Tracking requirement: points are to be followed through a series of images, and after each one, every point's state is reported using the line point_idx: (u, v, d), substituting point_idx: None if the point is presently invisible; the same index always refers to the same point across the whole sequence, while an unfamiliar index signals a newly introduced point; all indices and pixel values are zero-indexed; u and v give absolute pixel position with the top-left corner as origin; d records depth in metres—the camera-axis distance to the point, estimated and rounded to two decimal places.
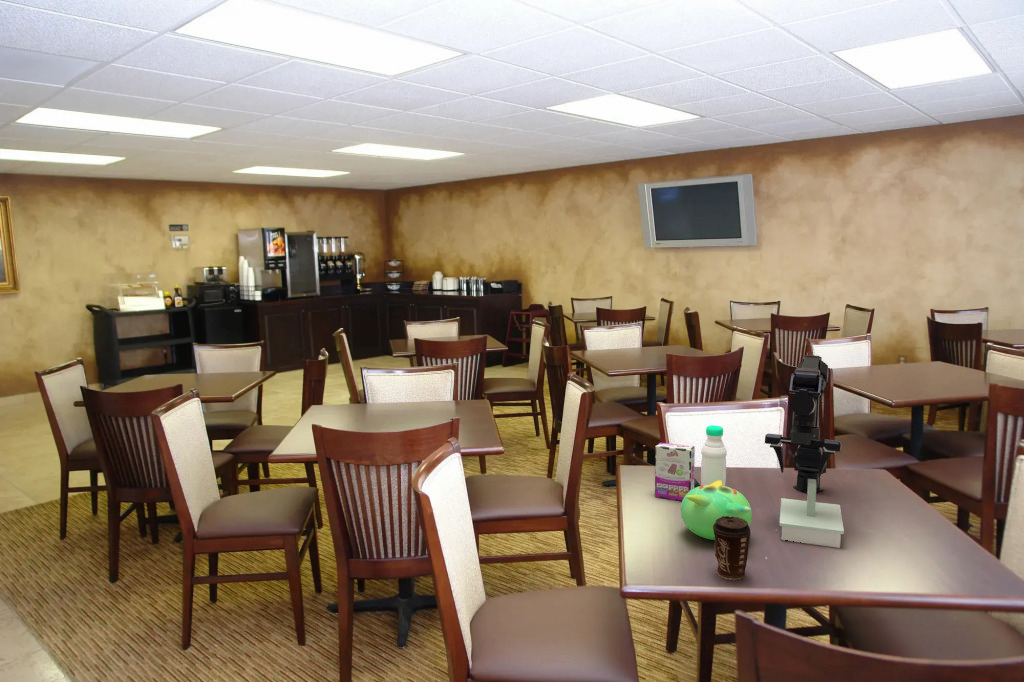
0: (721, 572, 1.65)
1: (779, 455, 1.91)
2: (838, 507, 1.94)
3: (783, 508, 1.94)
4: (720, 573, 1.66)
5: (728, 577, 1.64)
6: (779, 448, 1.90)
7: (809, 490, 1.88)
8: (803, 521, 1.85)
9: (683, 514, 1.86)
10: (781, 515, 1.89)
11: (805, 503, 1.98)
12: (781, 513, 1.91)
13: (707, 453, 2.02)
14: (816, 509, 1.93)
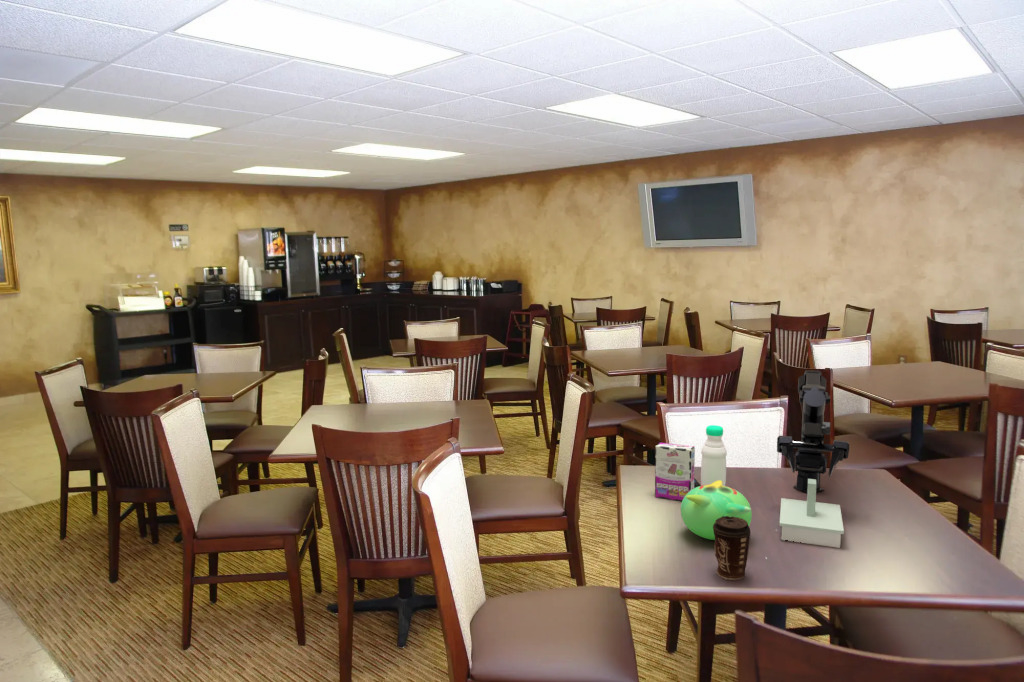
0: (721, 572, 1.65)
1: (791, 455, 2.00)
2: (838, 507, 1.94)
3: (783, 508, 1.94)
4: (720, 573, 1.66)
5: (728, 577, 1.64)
6: (791, 447, 2.00)
7: (809, 490, 1.88)
8: (803, 521, 1.85)
9: (683, 514, 1.86)
10: (781, 515, 1.89)
11: (805, 503, 1.98)
12: (781, 513, 1.91)
13: (707, 453, 2.02)
14: (816, 509, 1.93)
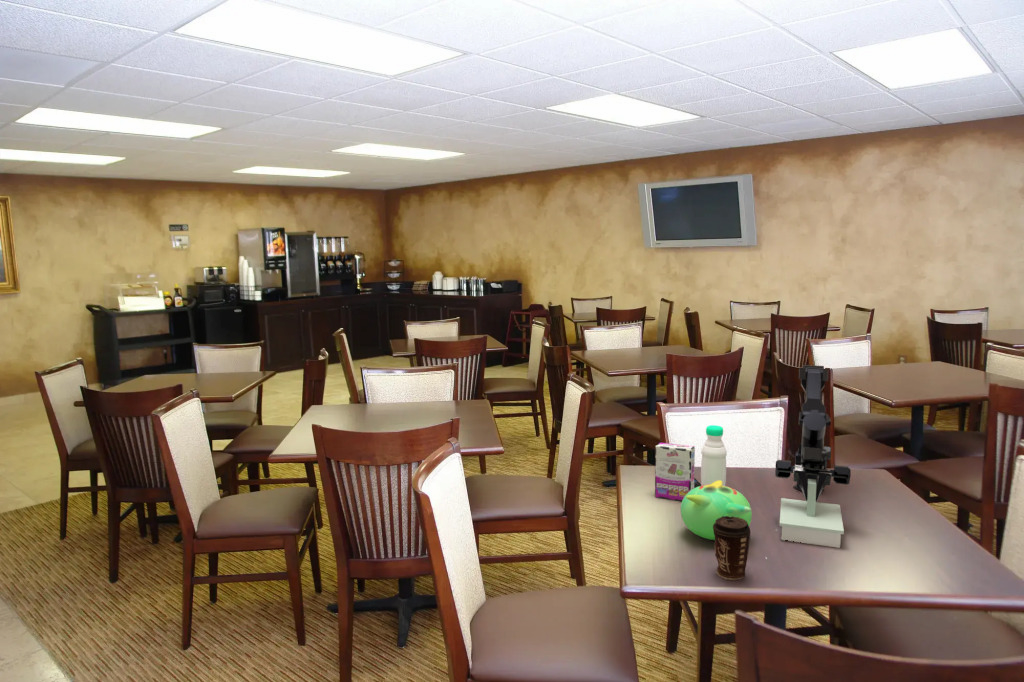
0: (721, 572, 1.65)
1: (804, 481, 1.91)
2: (838, 507, 1.94)
3: (783, 508, 1.94)
4: (720, 573, 1.66)
5: (728, 577, 1.64)
6: (804, 473, 1.91)
7: (809, 490, 1.88)
8: (803, 521, 1.85)
9: (683, 514, 1.86)
10: (781, 515, 1.89)
11: (805, 503, 1.98)
12: (781, 513, 1.91)
13: (707, 453, 2.02)
14: (816, 509, 1.93)
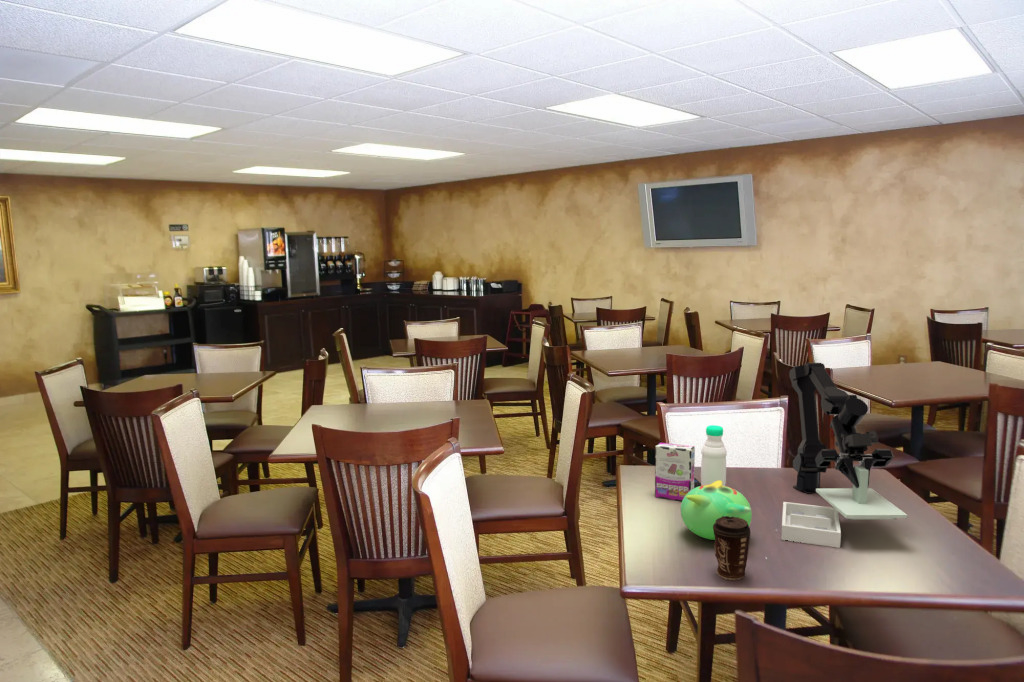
0: (721, 572, 1.65)
1: (851, 469, 1.87)
2: (873, 491, 1.94)
3: (831, 499, 1.89)
4: (720, 573, 1.66)
5: (728, 577, 1.64)
6: (851, 460, 1.87)
7: (861, 477, 1.84)
8: (863, 510, 1.81)
9: (683, 514, 1.86)
10: (838, 506, 1.83)
11: (842, 491, 1.95)
12: (835, 504, 1.85)
13: (707, 453, 2.02)
14: None
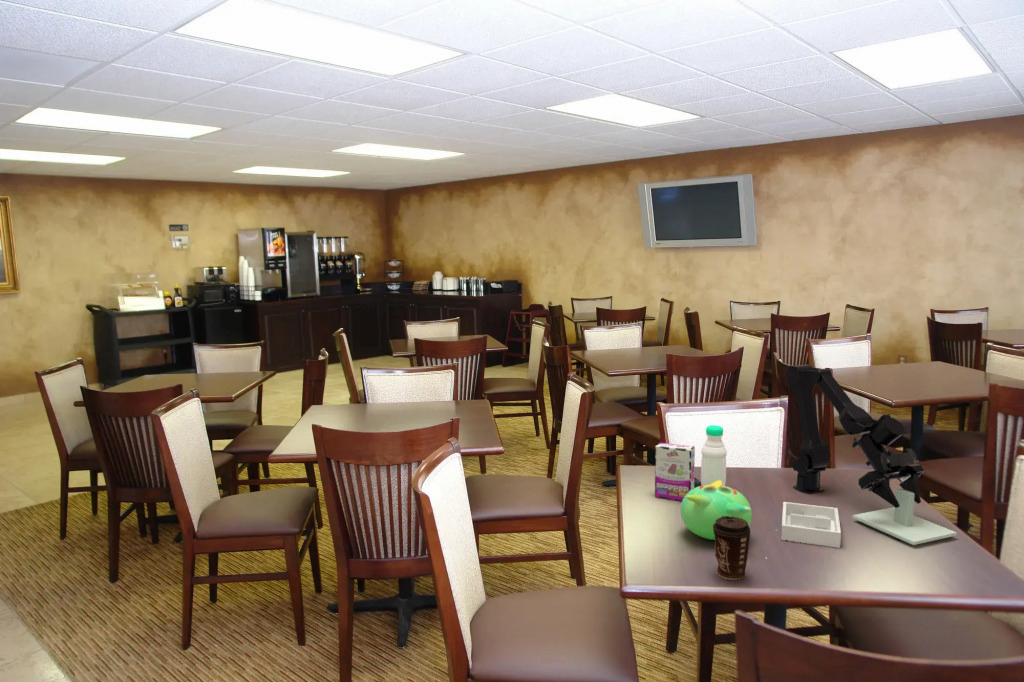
0: (721, 572, 1.65)
1: (889, 489, 1.88)
2: None
3: (879, 525, 1.89)
4: (720, 573, 1.66)
5: (728, 577, 1.64)
6: (888, 481, 1.88)
7: (909, 501, 1.87)
8: (920, 534, 1.84)
9: (683, 514, 1.86)
10: (895, 533, 1.84)
11: (876, 514, 1.97)
12: (890, 531, 1.86)
13: (707, 453, 2.02)
14: None
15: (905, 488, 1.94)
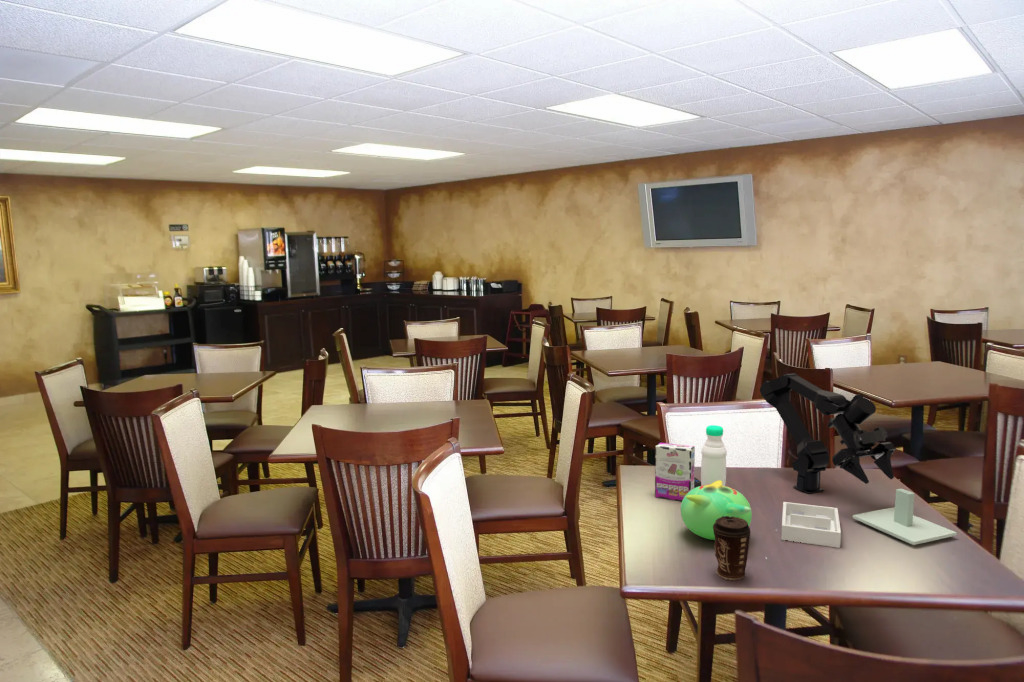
0: (721, 572, 1.65)
1: (859, 466, 1.96)
2: None
3: (879, 525, 1.89)
4: (720, 573, 1.66)
5: (728, 577, 1.64)
6: (858, 458, 1.96)
7: (909, 501, 1.87)
8: (920, 534, 1.84)
9: (683, 514, 1.86)
10: (895, 533, 1.84)
11: (876, 514, 1.97)
12: (890, 531, 1.86)
13: (707, 453, 2.02)
14: None
15: (879, 465, 2.02)
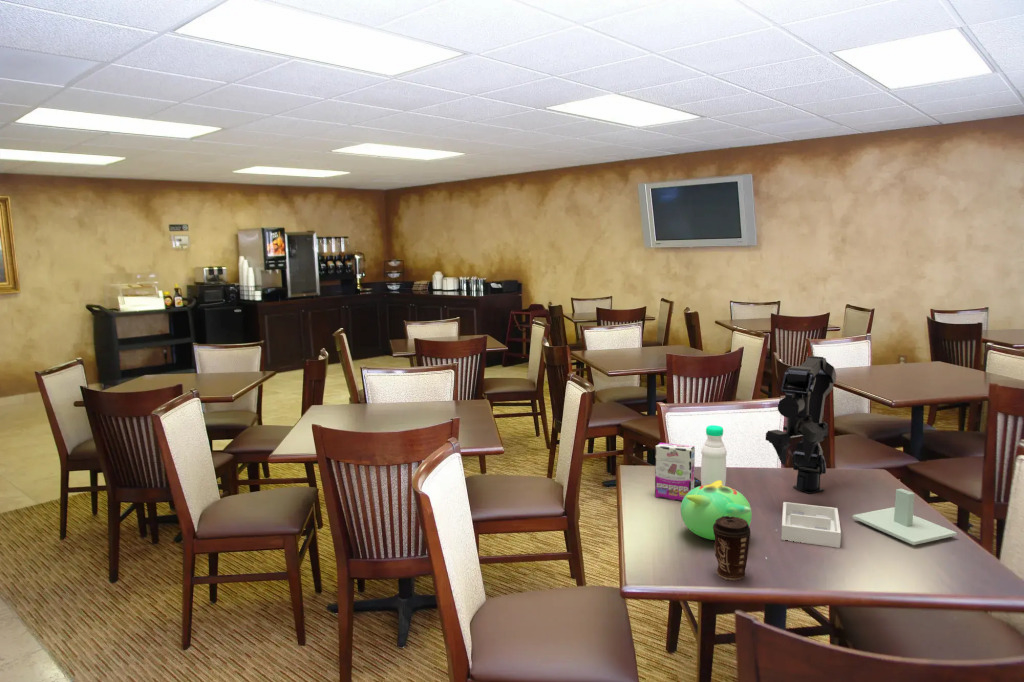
0: (721, 572, 1.65)
1: (785, 450, 2.04)
2: None
3: (879, 525, 1.89)
4: (720, 573, 1.66)
5: (728, 577, 1.64)
6: (788, 446, 2.02)
7: (909, 501, 1.87)
8: (920, 534, 1.84)
9: (683, 514, 1.86)
10: (895, 533, 1.84)
11: (876, 514, 1.97)
12: (890, 531, 1.86)
13: (707, 453, 2.02)
14: None
15: (804, 442, 2.10)
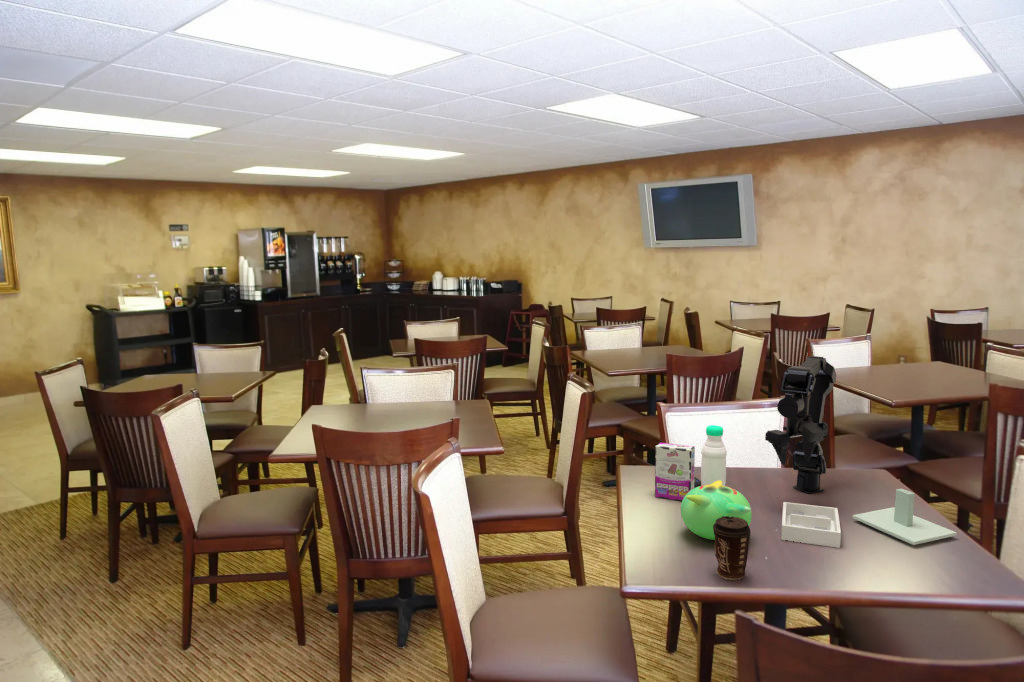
0: (721, 572, 1.65)
1: (785, 450, 2.04)
2: None
3: (879, 525, 1.89)
4: (720, 573, 1.66)
5: (728, 577, 1.64)
6: (788, 446, 2.02)
7: (909, 501, 1.87)
8: (920, 534, 1.84)
9: (683, 514, 1.86)
10: (895, 533, 1.84)
11: (876, 514, 1.97)
12: (890, 531, 1.86)
13: (707, 453, 2.02)
14: None
15: (804, 442, 2.10)
